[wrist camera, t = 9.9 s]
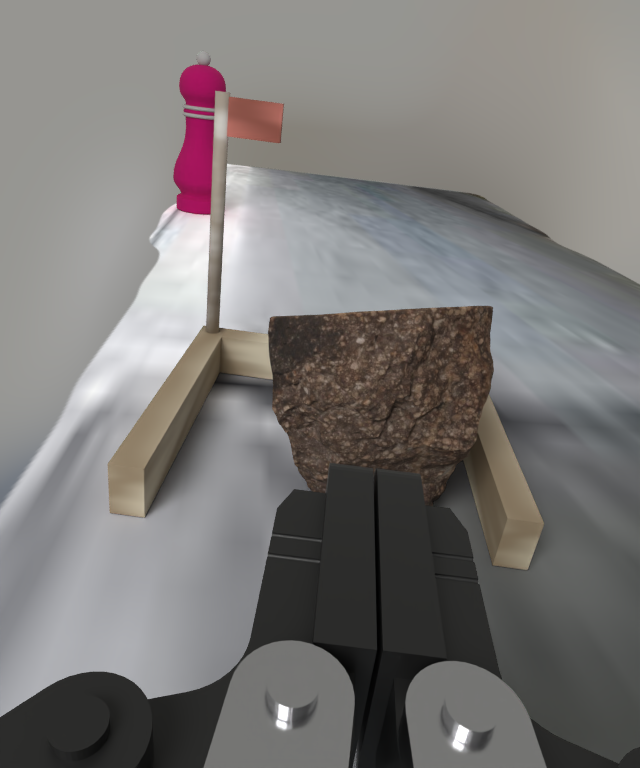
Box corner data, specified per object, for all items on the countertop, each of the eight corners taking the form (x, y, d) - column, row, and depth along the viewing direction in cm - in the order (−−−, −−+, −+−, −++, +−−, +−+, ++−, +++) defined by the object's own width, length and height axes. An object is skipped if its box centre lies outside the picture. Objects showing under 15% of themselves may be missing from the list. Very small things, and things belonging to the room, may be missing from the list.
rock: (344, 327, 36) (507, 264, 31) (395, 492, 35) (569, 454, 30) (211, 331, 25) (431, 236, 20) (282, 570, 24) (525, 531, 20)
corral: (466, 396, 40) (534, 132, 33) (527, 570, 26) (673, 162, 18) (202, 360, 40) (212, 90, 33) (109, 512, 26) (91, 84, 18)
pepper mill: (197, 217, 81) (202, 49, 73) (162, 206, 85) (162, 45, 76) (235, 213, 87) (243, 56, 78) (200, 203, 90) (205, 52, 82)
